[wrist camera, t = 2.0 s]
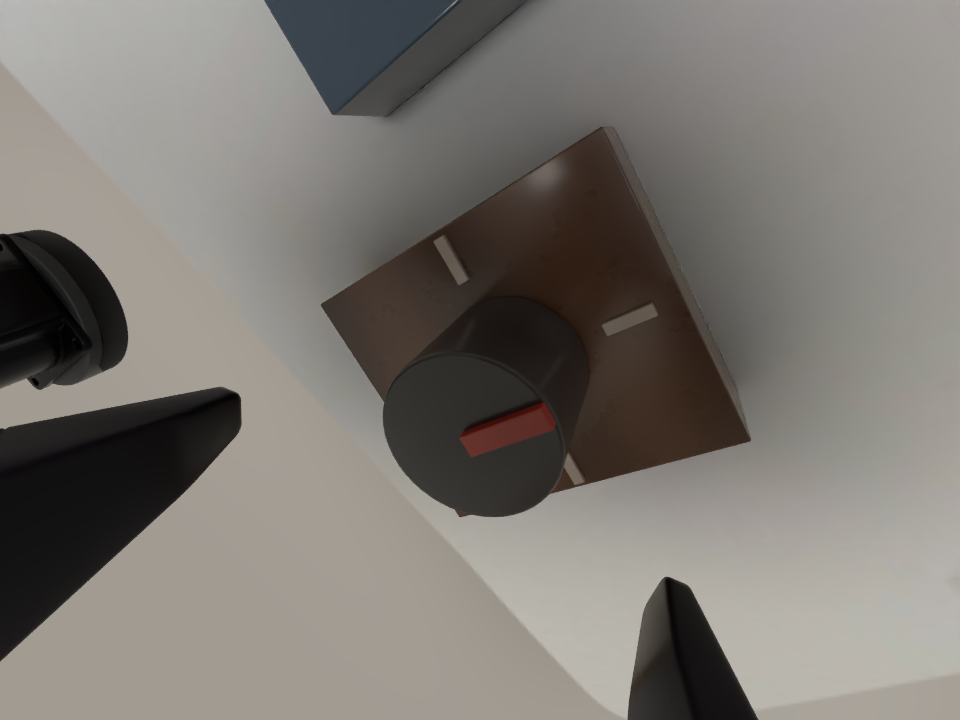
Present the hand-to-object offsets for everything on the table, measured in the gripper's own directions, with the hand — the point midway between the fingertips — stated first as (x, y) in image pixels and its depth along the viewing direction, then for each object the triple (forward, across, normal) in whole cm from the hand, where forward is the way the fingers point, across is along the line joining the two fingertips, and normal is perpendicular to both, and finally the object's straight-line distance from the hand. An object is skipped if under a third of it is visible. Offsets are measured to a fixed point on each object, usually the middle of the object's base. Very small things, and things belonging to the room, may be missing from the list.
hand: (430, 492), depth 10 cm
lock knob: (+6, 0, 0) cm, 6 cm away
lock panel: (+9, 0, 0) cm, 9 cm away
